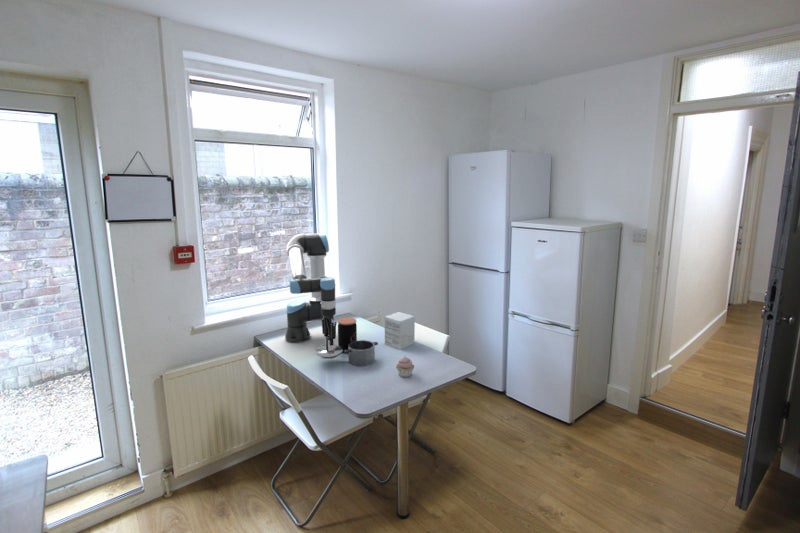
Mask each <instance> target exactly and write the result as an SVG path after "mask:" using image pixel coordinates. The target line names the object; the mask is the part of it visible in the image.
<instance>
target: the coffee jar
mask: <svg viewBox="0 0 800 533" xmlns="http://www.w3.org/2000/svg"><path fill="white" fill-rule="evenodd" d="M357 330H358V327H357V319H356V318H353V317H342V318H339V319H338V320H337V346H340V347H342V349H343V352H342V354H345V353H344V350H346V349H348V344H350V343H351V342H354V341H358V336H357V335H358V334H357V333H358V332H357Z"/></svg>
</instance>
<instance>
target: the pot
mask: <svg viewBox="0 0 800 533" xmlns="http://www.w3.org/2000/svg"><path fill="white" fill-rule="evenodd" d="M378 345H379V342H378V341H374V342H373V341H371V340H366V339H365V340H364V339H362V340H358V339H357V341H354V342H351V343H350V344H348V349H346V350H344V353H343V354H348V364H349V365H351V366H353V367H367V366H371V365H373V364H374V363H375V362H376V361H375V360H376V358H375V357H376V356H375V353H376V352H375V350H376V348H375V346H378Z"/></svg>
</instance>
